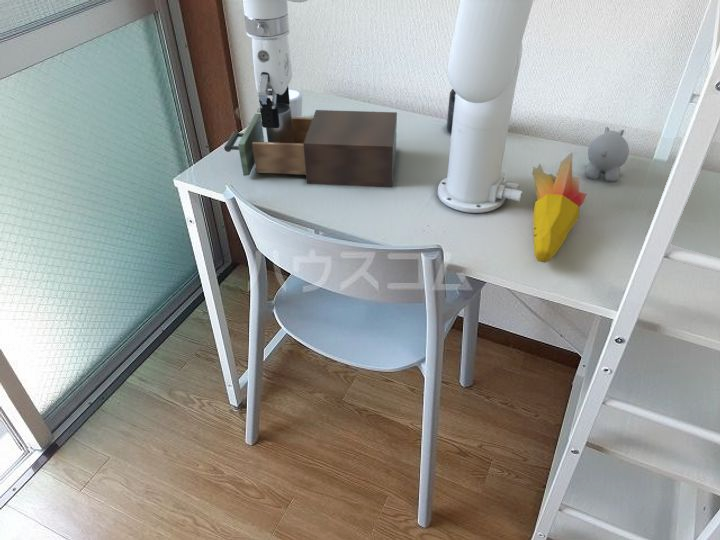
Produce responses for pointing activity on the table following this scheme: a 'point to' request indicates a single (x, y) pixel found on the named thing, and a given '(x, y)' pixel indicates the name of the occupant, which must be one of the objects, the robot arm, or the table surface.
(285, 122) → the measuring cup
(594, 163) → the toy rhinoceros
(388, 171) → the cabinet
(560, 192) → the torch
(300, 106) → the white cylinder
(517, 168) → the table surface
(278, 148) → the drawer
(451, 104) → the supplement bottle
